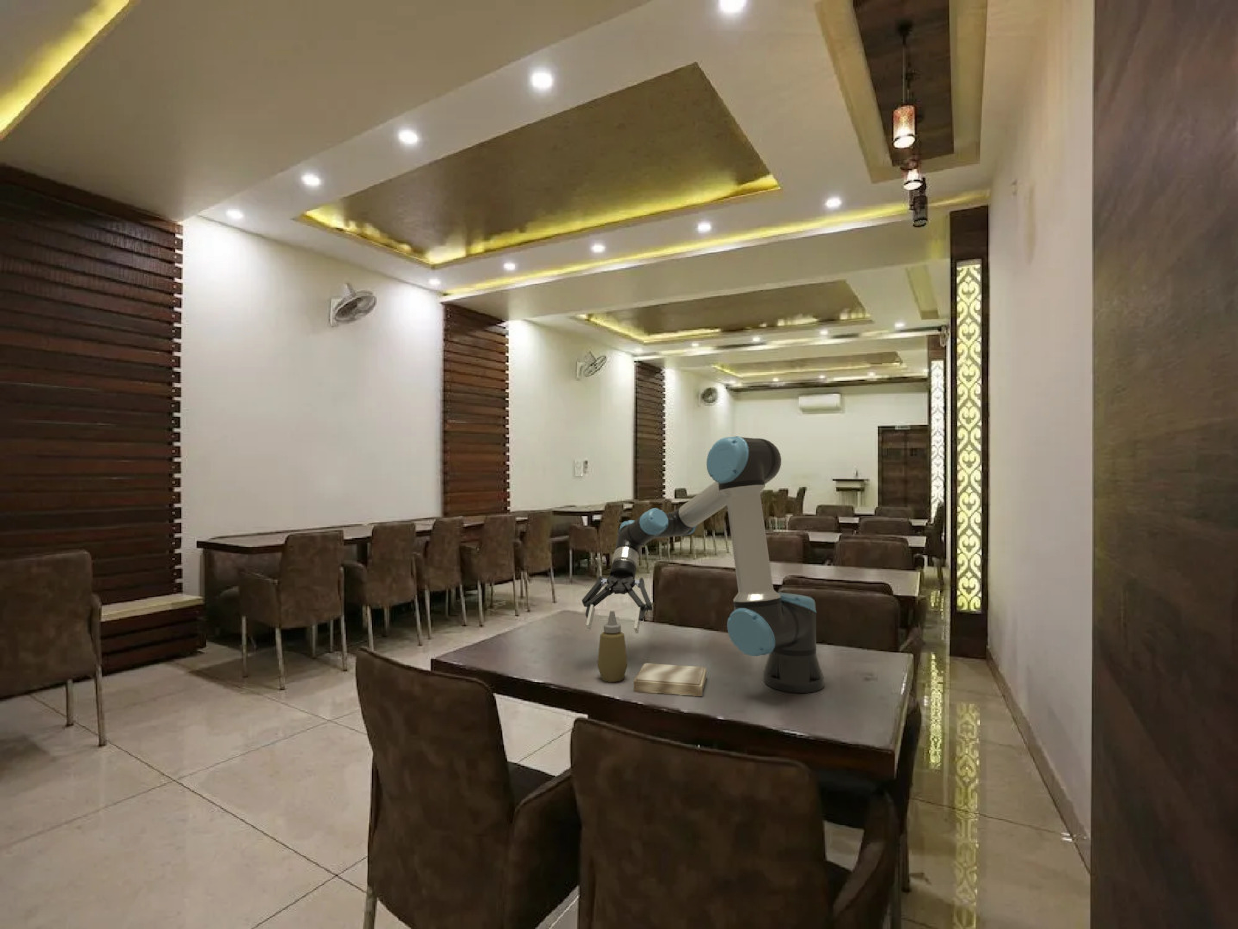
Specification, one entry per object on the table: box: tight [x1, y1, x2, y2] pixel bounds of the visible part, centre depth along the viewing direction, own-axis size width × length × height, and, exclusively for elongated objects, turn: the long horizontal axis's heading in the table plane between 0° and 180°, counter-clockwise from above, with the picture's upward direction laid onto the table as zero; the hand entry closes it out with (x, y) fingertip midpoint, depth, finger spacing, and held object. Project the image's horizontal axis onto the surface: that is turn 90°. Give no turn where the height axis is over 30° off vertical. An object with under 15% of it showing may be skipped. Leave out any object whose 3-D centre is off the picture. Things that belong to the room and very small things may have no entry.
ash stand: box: [633, 662, 707, 697], centre depth 153 cm, size 17×14×3 cm
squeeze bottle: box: [597, 610, 628, 683], centre depth 157 cm, size 8×8×18 cm
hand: (611, 629), depth 161 cm, fingers open, 13 cm apart
